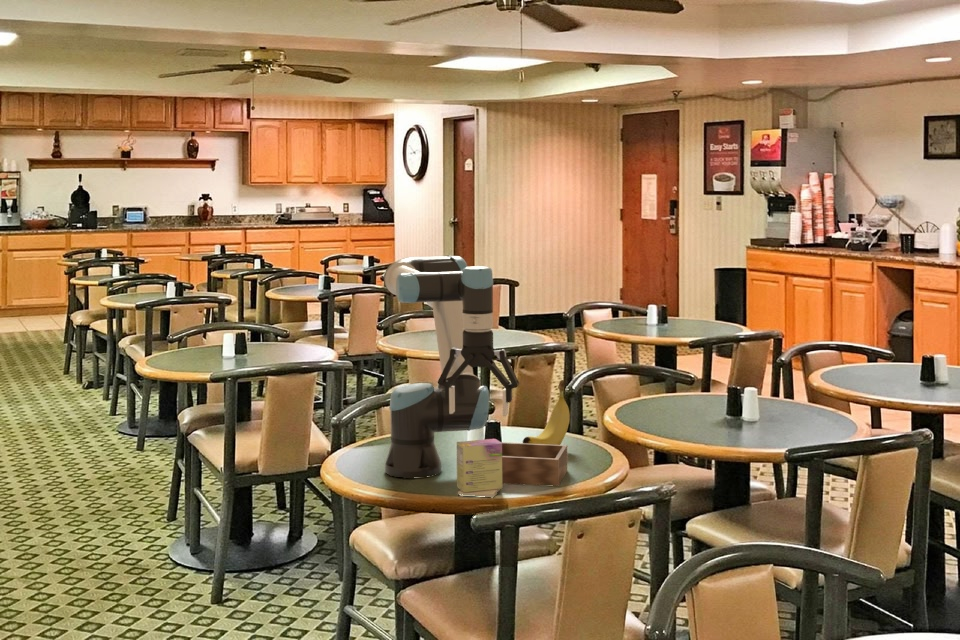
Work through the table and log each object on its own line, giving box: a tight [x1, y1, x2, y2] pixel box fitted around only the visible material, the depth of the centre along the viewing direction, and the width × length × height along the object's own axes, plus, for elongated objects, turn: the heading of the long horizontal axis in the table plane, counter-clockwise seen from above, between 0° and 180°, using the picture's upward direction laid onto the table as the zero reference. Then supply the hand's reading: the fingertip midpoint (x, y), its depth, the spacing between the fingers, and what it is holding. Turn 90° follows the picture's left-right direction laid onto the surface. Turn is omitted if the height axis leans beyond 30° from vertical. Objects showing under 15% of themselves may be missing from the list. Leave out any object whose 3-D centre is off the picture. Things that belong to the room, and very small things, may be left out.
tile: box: [457, 489, 501, 498], centre depth 269 cm, size 9×9×1 cm
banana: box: [522, 379, 571, 445], centre depth 303 cm, size 23×6×20 cm, turn 146°
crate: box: [500, 441, 568, 487], centre depth 283 cm, size 21×15×7 cm
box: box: [456, 438, 503, 492], centre depth 269 cm, size 10×6×12 cm, turn 109°
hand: (478, 413), depth 267 cm, fingers open, 13 cm apart
